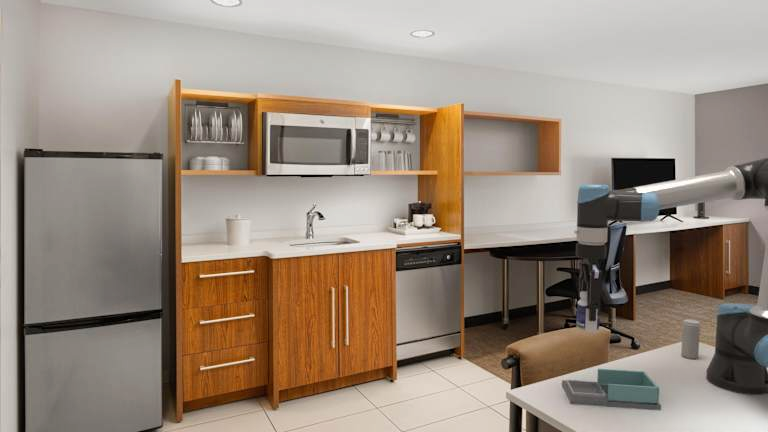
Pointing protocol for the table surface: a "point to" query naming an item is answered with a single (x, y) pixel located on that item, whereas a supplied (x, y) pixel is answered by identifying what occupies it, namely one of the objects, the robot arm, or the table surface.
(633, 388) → the housing
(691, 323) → the beverage can
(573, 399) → the plate
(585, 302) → the pill bottle
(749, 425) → the table surface
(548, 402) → the table surface
